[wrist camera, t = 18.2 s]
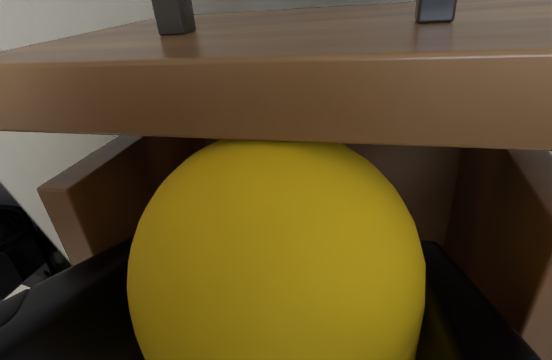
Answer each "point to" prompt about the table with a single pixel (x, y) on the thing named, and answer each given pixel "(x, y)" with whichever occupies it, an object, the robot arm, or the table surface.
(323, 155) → the yellow plastic egg
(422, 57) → the drawer
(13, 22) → the table surface
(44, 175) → the table surface
